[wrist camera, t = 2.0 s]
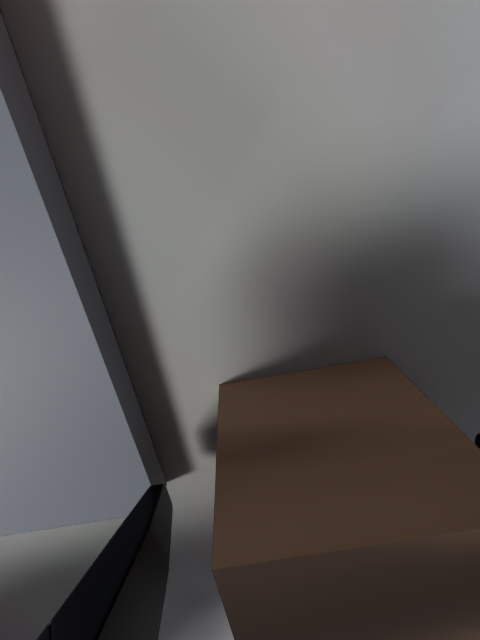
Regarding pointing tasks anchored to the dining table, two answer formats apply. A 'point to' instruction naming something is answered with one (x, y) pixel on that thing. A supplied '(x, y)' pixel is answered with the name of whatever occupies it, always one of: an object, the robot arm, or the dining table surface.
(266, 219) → the dining table surface
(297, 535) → the walnut cube
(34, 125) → the board
